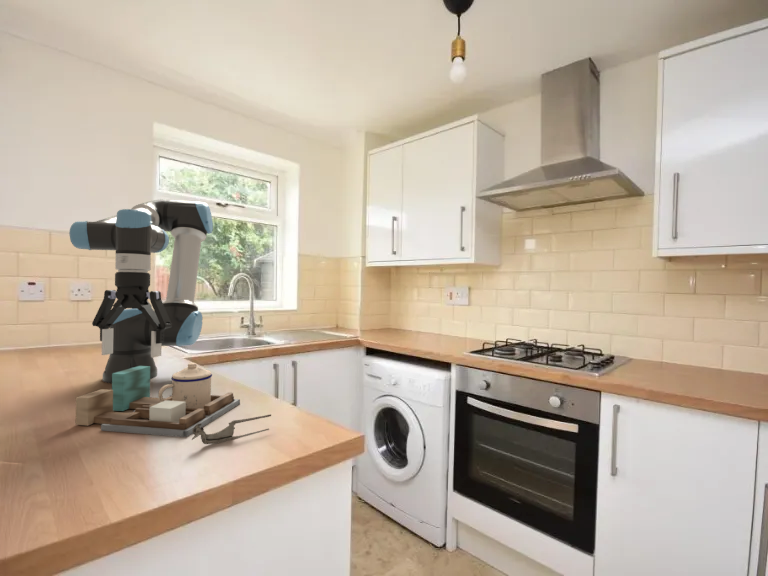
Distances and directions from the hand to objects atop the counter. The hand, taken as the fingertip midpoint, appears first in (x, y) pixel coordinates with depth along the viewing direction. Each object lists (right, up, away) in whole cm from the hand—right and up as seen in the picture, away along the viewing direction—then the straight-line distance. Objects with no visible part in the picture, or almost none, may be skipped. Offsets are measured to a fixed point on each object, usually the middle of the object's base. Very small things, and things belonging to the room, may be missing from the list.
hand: (131, 355), depth 98 cm
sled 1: (+10, -13, -12) cm, 20 cm away
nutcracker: (+33, -14, -19) cm, 41 cm away
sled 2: (+11, -13, -1) cm, 17 cm away
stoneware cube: (+16, -14, -12) cm, 24 cm away
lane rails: (+15, -13, -6) cm, 21 cm away
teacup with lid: (+15, -14, -3) cm, 20 cm away
